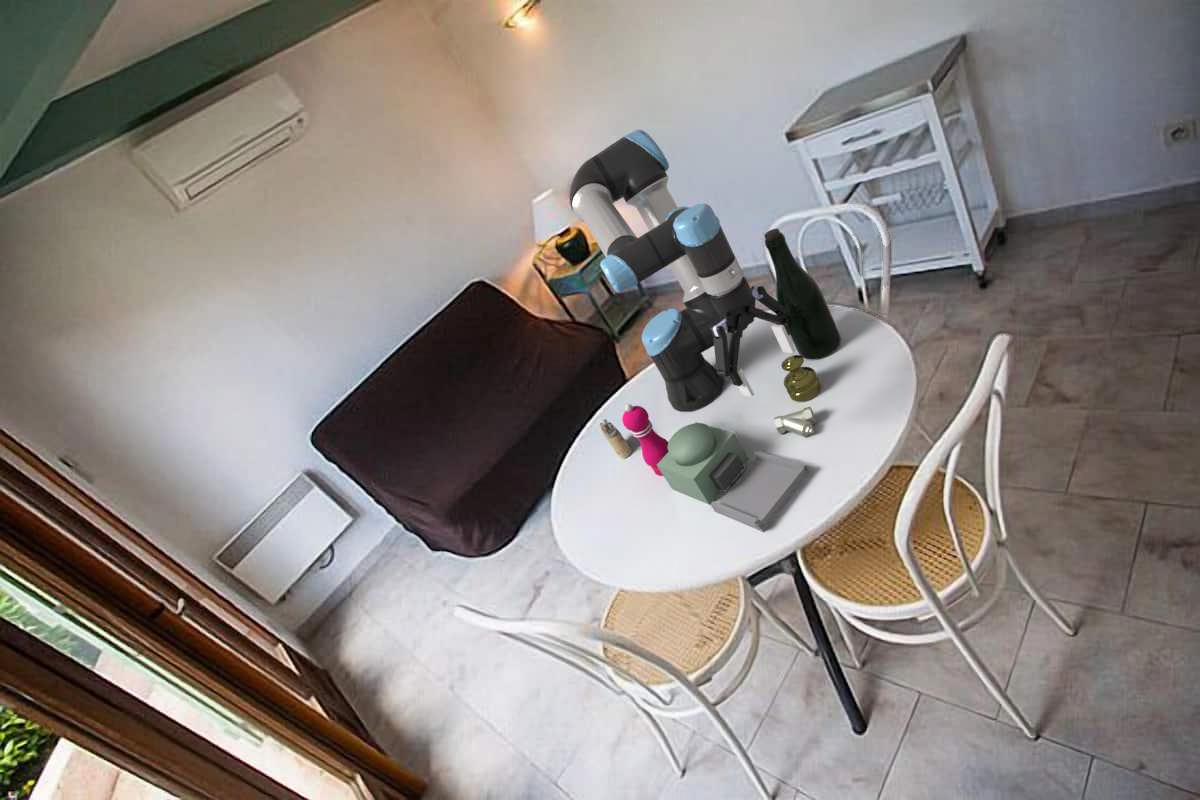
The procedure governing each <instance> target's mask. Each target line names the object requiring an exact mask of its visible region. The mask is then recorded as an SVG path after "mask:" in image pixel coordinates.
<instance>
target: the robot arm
mask: <svg viewBox="0 0 1200 800" xmlns="http://www.w3.org/2000/svg"><path fill="white" fill-rule="evenodd" d="M669 168H670V164H669V162H668V159H667V158H666V156H665V154H664V152H663V151H662V150H661V148H660V147H659V145H658V144H657V143H656V141H655V140H654V139H653V138H652V137H651V136H650V134H648V133H647V132H646V131H645V130H642V129H636V130H634V131H632V132H630V133H629V134H626V135H623V136H622V137H621V138H620V139H618V140H616V141H615V142H613V143H612V144H611V145H609V146H608V147H606V148H604V149H603V150H601V151H600V152H598V153H597V154H595V155H594V156H592V157H590V158H589V159H587V160H586V161H585V162H584V163H583V164H581V166H580V167H579V168H578V169H577V171H576V173H575V174H574V176H573V179H572V181H571V185H570V189H569V205H570V208H571V211H572V212H573V214H574V216H575V217H576V219H578V221H580V222H581V223H584V224H585V225H586V227H587V228H588V231H589V232H590V233H591V234H590V235H592V237H593V238H594V240H595V242H596V244H597V245H598V247H599V248H600V250H601V252H602V253H603V255H604V256H605V257H604V258H603V259H602V260H601V261H600V263H599V264H600V268H601V270H602V272H603V273H604V275H605V277H606V278H607V280H608V282H609V283H610V285H611V287H612V288H613V290H614V291H615V292H616V293H618V294H619V293H624V292H625V291H628V290H629V289H631V288H634V287H637V285H638V284H640V283H642V282H644V281H645V280H646V279H647V278H649V277H651V276H653V275H654V274H656V273H657V272H659V271H661V270H663V269H664V268H666V267H668V266H669V267H670V270H671V271H672V272H673V274H674V276H675V278H676V279H677V281H678V283H679V285H680V287H681V289H682V290H683V293H684V294H683V298H682V303H683V304H684V306H685V308H683V309H681V310H680V311H679V310H678V309H677V308H669V309H666V310H662V311H661V312H659V313H658V314H656V315H655V316H654V317H653V318H651V319H650V321H649V322H647V324H646V325H645V327H644V329H643V331H642V333H641V341H642V344H643V346H644V348H645V350H646V353H647V355H648V356H649V357H650V358H651V360H652V361H653V363H654V365H655V367H656V368H657V371H658V372H659V374H660V375H661V377H662V379H663V381H664V384H665V390H666V394H667V399H668V402H669V404H670V405H671V407H672V408H673V410H676V411H677V412H680V413H682V412H683V413H688V412H694V411H696V410H699V409H701V408H704V407H706V406H707V405H709V404H710V403H712V402H713V401H714V400H715V399H716V398H717V397H718V396H719V395H720V394H721V392H722V391H723V389H724V385H725V380H724V377H726V378H729V380H730V382H731V383H732V384H733V386H736V387H737V388H738V390H739V392H740V394H741V395H742V396H747V397H751V398H752V397H753V396H755V393H754V391H753V389H752V387H751V385H750V383H749V381H748V379H747V377H746V375H745V373H744V371H743V370H742V368H739V367H738V366H739V355H740V348H741V347H740V346H741V345H740V344H741V339H742V337H743V333H744V331H745V330H746V329H747V328H748V326H749V325H751V324H753V322H754V321H755V318H756V319H759V320H763V321H765V322H769V323H772V324H773V325H771V326H770V327H771V329H772V332H773V334H774V336H775V338H776V340H777V342H778V344H779V346H780V348H781V350H782V352H783V353H790V354H794V353H795V352H796V349H795V346H794V343H792V342H793V341H792V340H791V339H790V336H791V335H790V333H789V330H788V328H787V326H786V324H787V323H788V318H786V316H788V315H789V313H790V311H789V310H788V309H787V308H786V307H784V306H783V305H782V304H780V303H779V302H778V301H777V299H775V298H774V297H772V296H771V295H770V294H769V293H768V292H767V291H766V288H765V287H764V286H762V285H757V286H756V285H754V286H751V287H750V285H749V282H748V281H747V278H746V277H745V276H744V273H743V269H742V268H741V266H740V263H739V262H738V259H737V257H736V255H735V253H734V252H733V249H732V247H731V245H730V243H729V241H728V239H727V236H726V234H725V232H724V230H723V228H722V226H721V223H720V219H719V217H718V216H717V215H716V214H715V212H714V209H713V208H712V207H711V205H709V204H708V203H702V204H701V203H700V204H696V205H693V206H691V207H688V206H678V205H677V203H676V202H675V200H674V198H673V196H672V195H671V193H670V191H669V190H668V182H669V175H668V174H667V171H668V170H669ZM622 199H623V200H624V201H625V204H626V205H629V206H633V207H635V208H636V210H637V211H638V213H639V215H640V217H641V218H642V220H643V222H644V224H645V226H646V227H647V229H648V231H647V232H645V233H644V234H642V235H640V236H639V237H637V235H636V233H635V232H634V231H633V230H632V228H631V227H630V225H629V224H628V223H627V221H626V220H625V218H624V217H623V216H622V214H621V213H620V211H619V210H618V209H617V207H616V206H615V205H614V203H616V202H619V200H622ZM756 300H757V301H758V302H759V303H761V304H763V306H765V307H766V308H768V310H770V311H771V312H773V313H771V312H767V311H765V310H763V309H761V308H758V307H756ZM712 347H713V349H714V356H715V357H714V358H715V366H714V365H712V364H711V363H710V362H709V361H708V360H707V359H706V358H705V357H704V355H703V354H702V353H704V352H705V351H707V350H709V349H711V348H712Z"/></svg>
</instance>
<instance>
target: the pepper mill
mask: <svg viewBox="0 0 1200 800" xmlns="http://www.w3.org/2000/svg"><path fill="white" fill-rule="evenodd" d="M624 410H625V411H624V412H623V414H622V418H621V421H622V424H623V426H624V427H625V429H627V430H628V431H630V432H631V434H632V436H633V437H634V438H636V439H638V442H639V443H640V446H641V455H642V458H643V461H644V463H645V464H646V465H647V466H649V467H651V469H652V471H653V472H654V474H655V475H657V476H659V477H662V476H663V474H662V473H661V471H660V470H659V468H658V467H657V464H658V463H659V462H660V461H661V460H662V459H663V457H664V456H665V455H666V454H667V453H668V452H669V451H668V443H669V440H667V439H666V438H664V437H662V436H661V435H660V434H658V433H657V432H656V431H655V430H654V429H653V428H654V427H653V423H652V421H651V419H650V418H649V413H648V411H647V410H646V408H644V407H643V406H640V405H632V404H631V403H626V404H625V406H624ZM663 477H664V476H663Z"/></svg>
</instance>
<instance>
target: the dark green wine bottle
mask: <svg viewBox="0 0 1200 800" xmlns="http://www.w3.org/2000/svg"><path fill="white" fill-rule="evenodd" d="M764 246H765V248H766V249H767V252H768V253H769V256H770V258H771V261H772V264H773V267H774V271H775V272H774V273H775V281H776V282H775V295H776V296H775V297H776V301H778V302H779V303H780V304H782V305H783V306H784V307H786V308H787V309H788V310H789V311H790V313H789V315H788V316H786V318H788V323H787V324H786V326H787V328H788V330H789V333H790V335H789V336H790V337H791V339H792V340H791V341H792V342H793V346H794V348H796V349H795V350H796V351H797V354H798V355H800V356H802V357H803V359H806V360H818V359H821V358H824V357H827V356H829V355H831V354H832V353H833V352H835V351H836V350H837V349H838V348H839V346H840V344H841V342H842V337H841V334H840V332H839V330H838V326H837V325H836V322H835V320H834V318H833V315H832V313H831V310H830V309H829V306H828V303H827V300H826V299H825V297H824V295H823V292H822V290H821V288H820V286H819V285H818V283H817V282H816V280H815V279H814V278H813V277H812V276H811V275H810V274H809V273H808V272H807V271H806V270H805V269H804V268H803V267H802V266H801V265H800V264H799V263H798V261H797V260H796V259H795V257H794V255H793V253H792V252H791V250H790V248H789V245H788V243H787V241H786V236H785V234H783V232H781V231H780V229H779V228H772V229H770V230H768V231H767V232H766V233H764Z"/></svg>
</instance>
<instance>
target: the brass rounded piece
mask: <svg viewBox="0 0 1200 800" xmlns="http://www.w3.org/2000/svg"><path fill="white" fill-rule="evenodd" d="M804 359H805V358H803V357H802V356H800V355H799V354H794V355H790V356H788V357H786V358H785V359H784V360H783V361H782V363H781V369H782V370H783V371H785V372H788V373H787V374H786V375H785V377H784V379H783V386H784V388H785V389H786V392H787V394H788V395H789V398H790V400H792V401H794V402H796V403H797V402H798V403H799V402H800V403H801V402H802V403H803V402H807V401H809V400H810V401H811V399H814V398H815V397H816V396H817V395H819V393H820V392H821V389H822V383H821V381H820V378H819V377H818V375H817V372H816V370H815V369H814V368H812V367H810V366H803V364H804V361H805V360H804Z"/></svg>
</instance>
